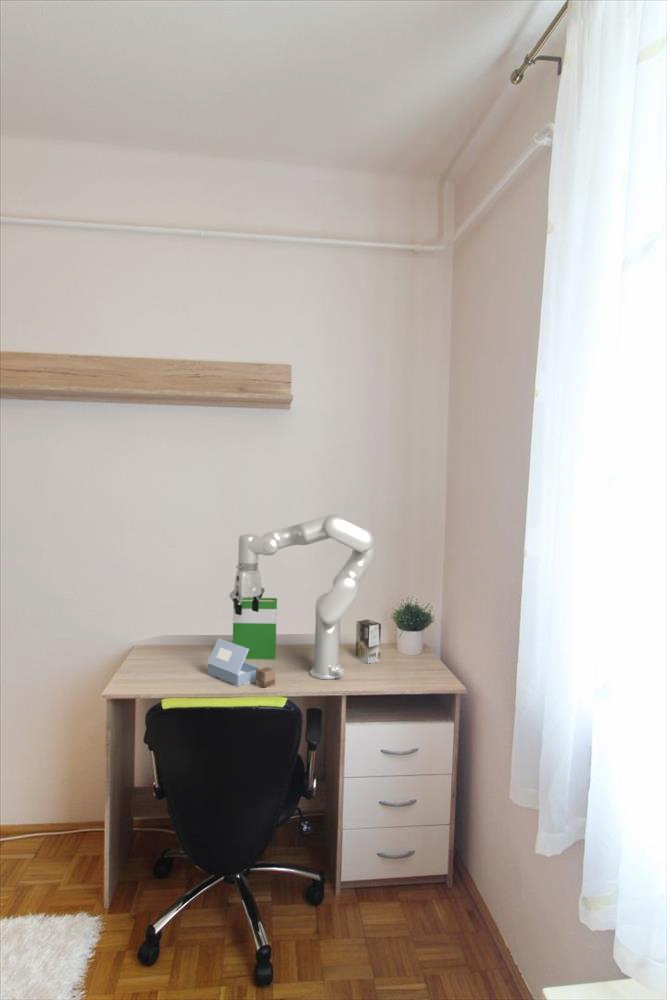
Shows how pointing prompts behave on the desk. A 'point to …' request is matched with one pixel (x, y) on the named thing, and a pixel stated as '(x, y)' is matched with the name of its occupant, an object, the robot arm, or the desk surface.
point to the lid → (228, 656)
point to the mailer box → (244, 676)
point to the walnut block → (265, 677)
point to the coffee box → (368, 641)
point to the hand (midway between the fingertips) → (246, 612)
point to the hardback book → (256, 628)
